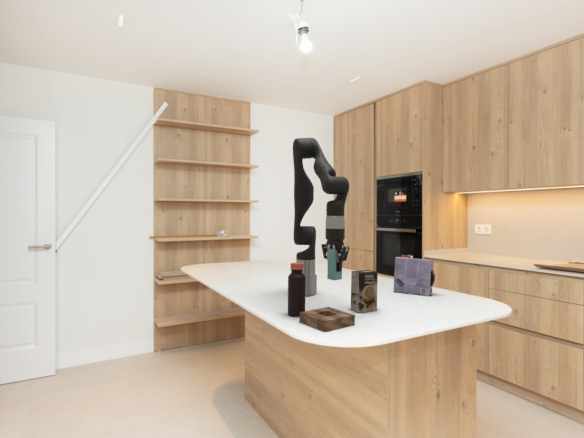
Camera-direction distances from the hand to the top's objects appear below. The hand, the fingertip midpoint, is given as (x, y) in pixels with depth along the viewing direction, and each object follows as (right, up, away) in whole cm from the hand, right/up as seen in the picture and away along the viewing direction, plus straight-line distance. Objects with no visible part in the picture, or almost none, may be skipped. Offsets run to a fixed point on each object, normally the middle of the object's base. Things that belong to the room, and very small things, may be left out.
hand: (334, 270), depth 147 cm
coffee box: (+13, -17, +6) cm, 22 cm away
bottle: (-15, -17, -2) cm, 23 cm away
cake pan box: (+44, -17, +39) cm, 61 cm away
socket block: (-4, -17, -13) cm, 22 cm away
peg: (0, -3, 0) cm, 3 cm away
